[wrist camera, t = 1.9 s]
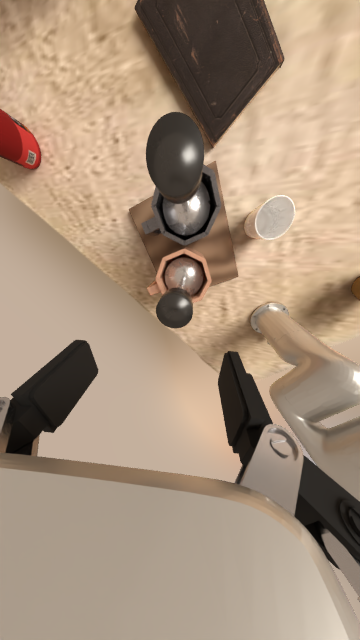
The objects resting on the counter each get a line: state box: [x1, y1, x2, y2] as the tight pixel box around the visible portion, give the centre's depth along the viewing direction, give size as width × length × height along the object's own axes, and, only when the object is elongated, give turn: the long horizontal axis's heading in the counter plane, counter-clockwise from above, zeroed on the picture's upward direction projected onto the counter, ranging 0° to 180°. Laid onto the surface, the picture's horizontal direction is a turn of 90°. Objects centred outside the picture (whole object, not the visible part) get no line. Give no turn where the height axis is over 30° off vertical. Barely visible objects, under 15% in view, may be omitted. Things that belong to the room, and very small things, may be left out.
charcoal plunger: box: [146, 112, 210, 235], centre depth 19 cm, size 9×9×19 cm
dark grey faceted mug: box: [141, 164, 222, 245], centre depth 32 cm, size 12×15×16 cm
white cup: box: [244, 195, 295, 240], centre depth 35 cm, size 8×8×10 cm
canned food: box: [0, 109, 41, 169], centre depth 31 cm, size 8×8×11 cm
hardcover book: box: [135, 0, 284, 147], centre depth 26 cm, size 16×23×2 cm
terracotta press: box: [147, 247, 212, 303], centre depth 39 cm, size 12×15×16 cm
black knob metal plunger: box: [156, 257, 203, 328], centre depth 25 cm, size 9×9×19 cm
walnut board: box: [129, 161, 238, 287], centre depth 42 cm, size 28×24×2 cm
